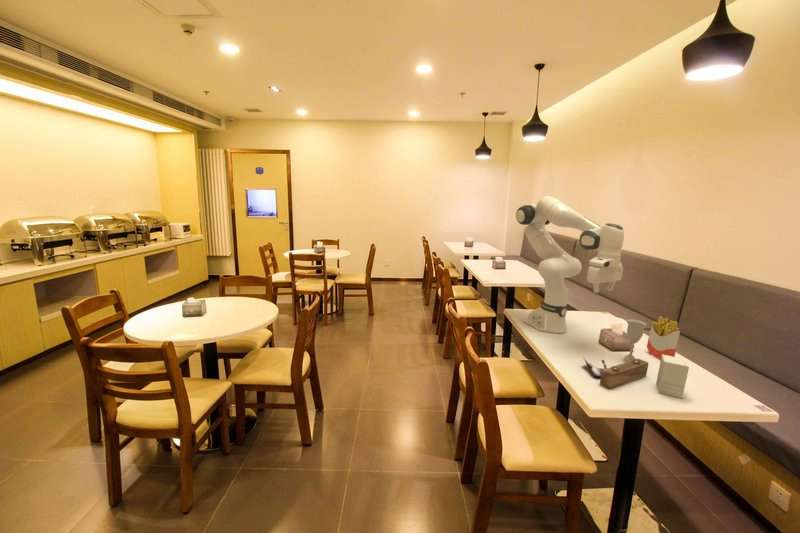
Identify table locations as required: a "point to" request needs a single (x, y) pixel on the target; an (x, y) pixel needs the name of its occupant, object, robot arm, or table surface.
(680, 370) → the supplement box
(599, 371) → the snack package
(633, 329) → the chalice
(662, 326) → the french fries container
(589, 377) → the table surface
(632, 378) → the bar
